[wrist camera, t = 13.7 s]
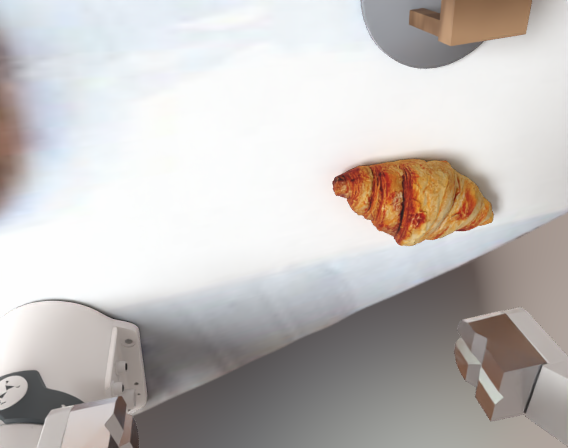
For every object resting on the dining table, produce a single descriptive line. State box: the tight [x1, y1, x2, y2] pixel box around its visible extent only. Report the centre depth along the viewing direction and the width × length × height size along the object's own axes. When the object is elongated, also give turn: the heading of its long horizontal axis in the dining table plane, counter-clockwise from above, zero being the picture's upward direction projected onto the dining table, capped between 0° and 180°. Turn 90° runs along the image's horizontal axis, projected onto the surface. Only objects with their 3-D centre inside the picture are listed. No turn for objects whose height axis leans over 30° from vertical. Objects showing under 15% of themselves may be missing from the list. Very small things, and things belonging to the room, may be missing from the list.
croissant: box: [333, 159, 494, 246], centre depth 48 cm, size 21×10×8 cm, turn 73°
